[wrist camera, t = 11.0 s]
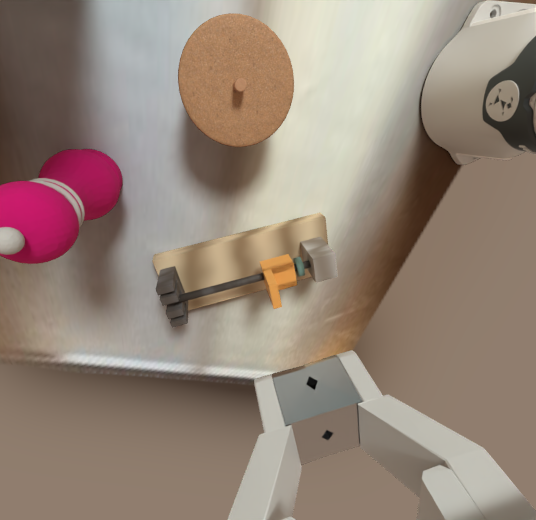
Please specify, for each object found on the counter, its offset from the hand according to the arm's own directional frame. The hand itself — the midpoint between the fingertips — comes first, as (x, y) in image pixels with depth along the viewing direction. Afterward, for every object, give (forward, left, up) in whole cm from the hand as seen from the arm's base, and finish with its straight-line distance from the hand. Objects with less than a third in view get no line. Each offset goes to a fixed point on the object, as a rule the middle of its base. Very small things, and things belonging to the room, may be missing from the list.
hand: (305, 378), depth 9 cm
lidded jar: (-3, -8, -34) cm, 35 cm away
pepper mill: (+15, -2, -34) cm, 37 cm away
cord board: (0, +14, -34) cm, 37 cm away
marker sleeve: (-4, +14, -30) cm, 33 cm away
